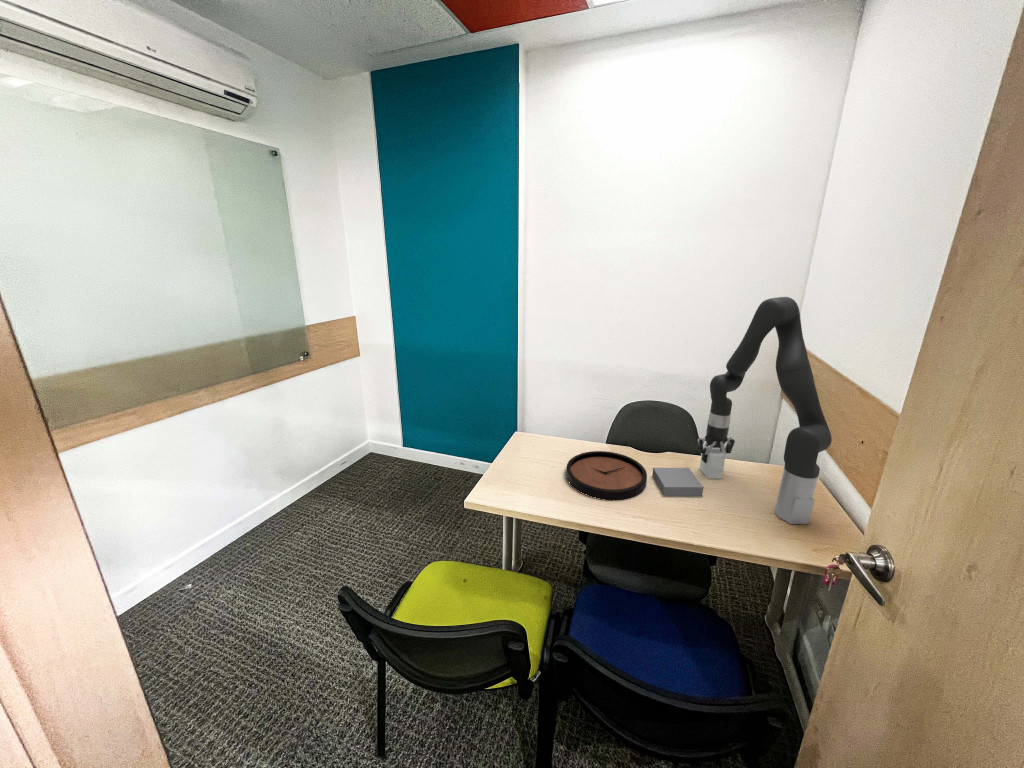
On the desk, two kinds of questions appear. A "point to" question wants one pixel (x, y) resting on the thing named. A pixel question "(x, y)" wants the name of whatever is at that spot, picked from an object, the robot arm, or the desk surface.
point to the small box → (713, 464)
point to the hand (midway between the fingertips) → (712, 461)
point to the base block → (677, 482)
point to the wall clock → (606, 475)
